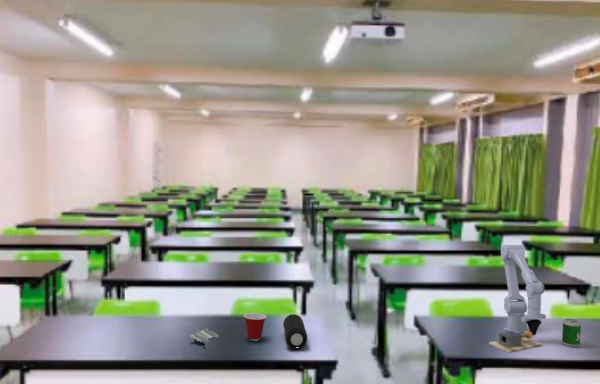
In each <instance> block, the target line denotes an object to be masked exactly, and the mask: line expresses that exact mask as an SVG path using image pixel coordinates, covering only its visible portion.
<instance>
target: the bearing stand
mask: <svg viewBox="0 0 600 384" xmlns="http://www.w3.org/2000/svg"><path fill="white" fill-rule="evenodd" d="M521 334H522V333H516V332H513V331H502V332H499V333H498V340H494V341H489V342H488V344H489V345H491V346H493V347H495V348H497V349H500V350H502V351H504V352H507V353H514V352H518V351H519V352H520V351H524V350H529V349H535V348H539V347H543V345H544V344H543V343H542V342H539V341H535V340H533V339H532V338H530V339H527V338H526V337H525V338H522V335H521Z"/></svg>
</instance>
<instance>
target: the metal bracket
mask: <svg viewBox="0 0 600 384" xmlns="http://www.w3.org/2000/svg"><path fill="white" fill-rule="evenodd" d="M189 337H190V338H193V340H194V339H196V340H195V341H198V342H199V341H205V342H209V340H208V338H212V337H216V338H218V337H220V336H219V335H218V334H217V333H215V331H212V330H209V329H208V328H207V327H205V328H203V329H202V330H198V329H197V330H196V332H194V333H193V334H191V335H189Z"/></svg>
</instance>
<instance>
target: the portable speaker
mask: <svg viewBox="0 0 600 384" xmlns="http://www.w3.org/2000/svg"><path fill="white" fill-rule="evenodd" d="M304 324H305V323H304V321H303V318H302V317H301V316H299V314H298V315H297V314H295V313H293V314H289V315H287V316H286V317H285V318H284V319H283V331H284V336H285V343H286V344H287V346H288V347H289V346H290V347H291V349H292V348H296V347H299V348H300V349H302V348H304V346H306V344H307V342H308V335H307V334H308V333H307V331H306V328H305V325H304ZM290 347H289V348H290Z"/></svg>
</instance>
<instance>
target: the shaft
mask: <svg viewBox="0 0 600 384" xmlns="http://www.w3.org/2000/svg"><path fill="white" fill-rule="evenodd" d="M520 334H521V335H522V338H525V337H526V338H527V339H533V336H534V335H533V334H532V332H531V331H530V330H528V331H525V332H522V333H520Z"/></svg>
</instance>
